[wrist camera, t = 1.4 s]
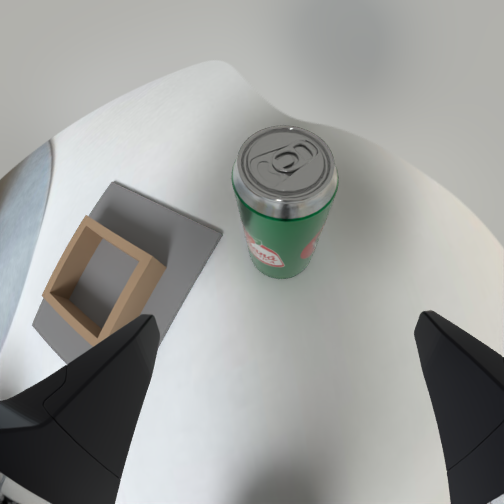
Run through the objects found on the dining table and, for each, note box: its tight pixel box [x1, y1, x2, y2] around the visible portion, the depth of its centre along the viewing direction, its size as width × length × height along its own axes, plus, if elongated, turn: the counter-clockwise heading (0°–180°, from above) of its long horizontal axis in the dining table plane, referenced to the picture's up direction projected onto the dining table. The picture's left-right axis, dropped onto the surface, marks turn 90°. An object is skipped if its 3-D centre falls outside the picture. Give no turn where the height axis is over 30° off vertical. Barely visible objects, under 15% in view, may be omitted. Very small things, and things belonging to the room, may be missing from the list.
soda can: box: [232, 126, 338, 279], centre depth 17 cm, size 5×5×12 cm
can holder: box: [32, 182, 222, 364], centre depth 21 cm, size 18×14×3 cm
